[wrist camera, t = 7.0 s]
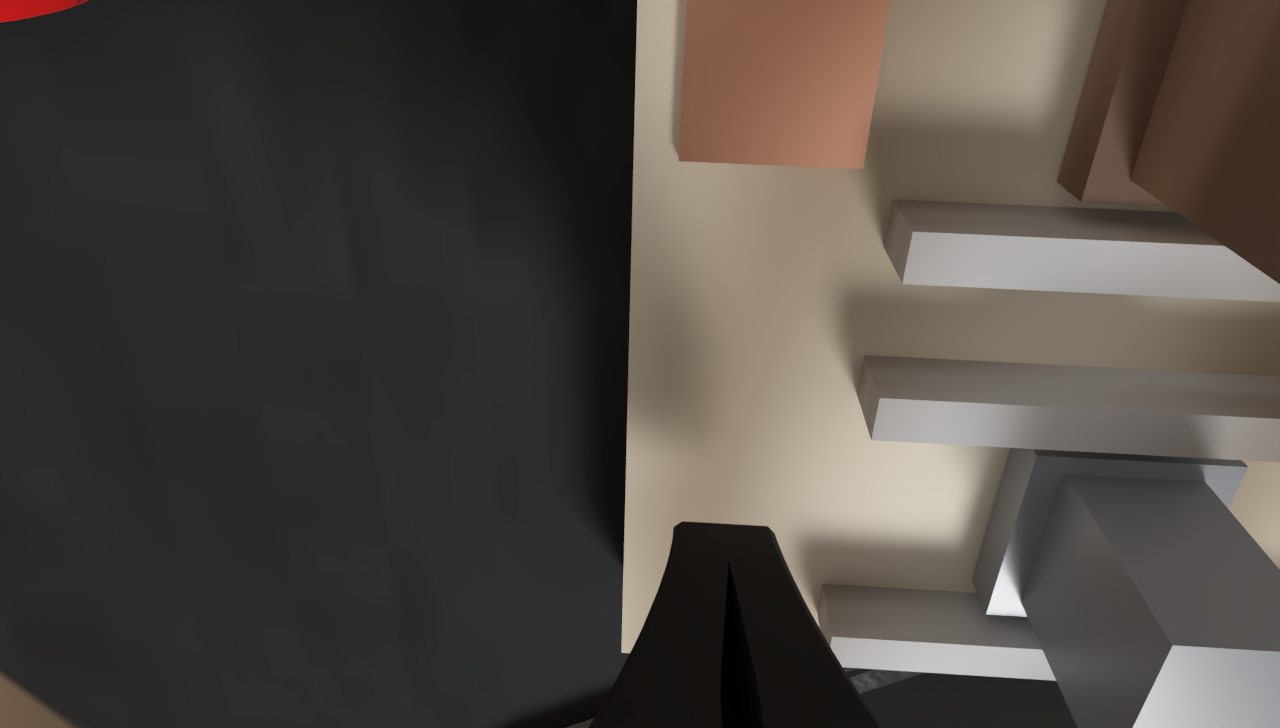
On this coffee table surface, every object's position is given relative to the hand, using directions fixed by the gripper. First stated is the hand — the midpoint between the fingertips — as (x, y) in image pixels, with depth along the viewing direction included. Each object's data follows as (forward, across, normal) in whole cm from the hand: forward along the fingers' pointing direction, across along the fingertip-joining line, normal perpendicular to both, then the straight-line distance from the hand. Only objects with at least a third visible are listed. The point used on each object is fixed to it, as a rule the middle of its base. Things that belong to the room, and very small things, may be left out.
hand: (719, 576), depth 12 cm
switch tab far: (+2, -6, 0) cm, 6 cm away
